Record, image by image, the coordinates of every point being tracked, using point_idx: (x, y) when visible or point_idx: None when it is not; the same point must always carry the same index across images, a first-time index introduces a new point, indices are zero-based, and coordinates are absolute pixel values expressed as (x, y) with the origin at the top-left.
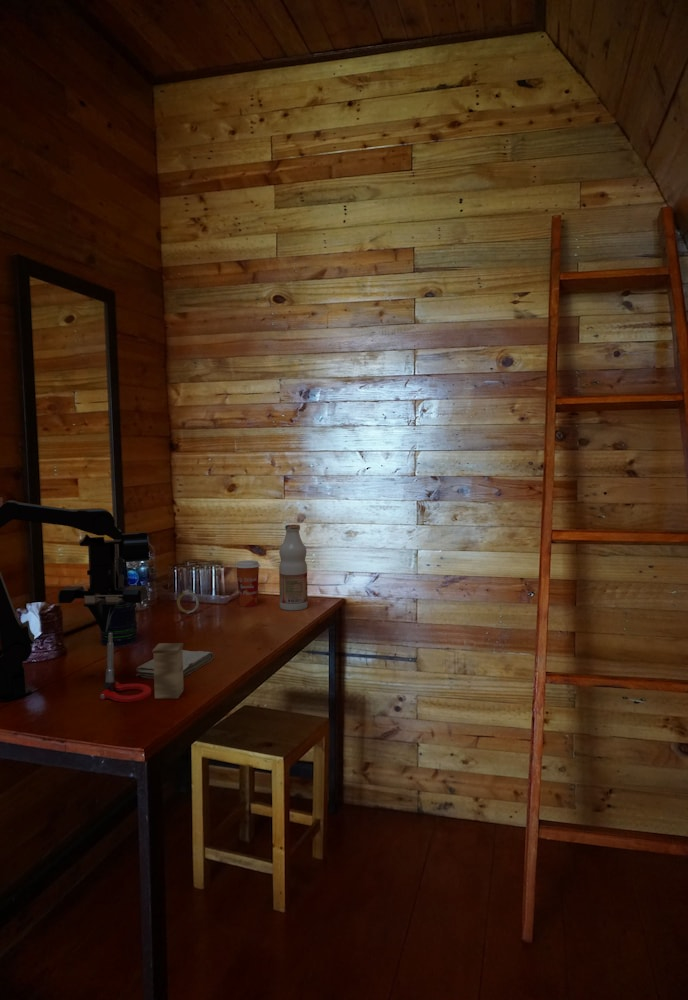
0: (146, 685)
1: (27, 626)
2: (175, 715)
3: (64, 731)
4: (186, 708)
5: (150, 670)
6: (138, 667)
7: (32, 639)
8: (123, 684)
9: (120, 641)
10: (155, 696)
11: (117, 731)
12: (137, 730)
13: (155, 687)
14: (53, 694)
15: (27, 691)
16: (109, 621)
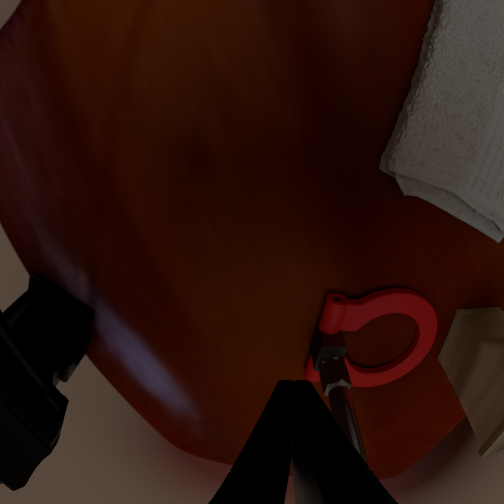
0: (427, 306)
1: (14, 490)
2: (455, 414)
3: None
4: None
5: (442, 193)
6: (401, 173)
7: (28, 439)
8: (362, 307)
9: None
10: (440, 361)
11: None
12: (393, 455)
13: (449, 376)
14: (154, 324)
15: (85, 318)
16: (342, 438)
